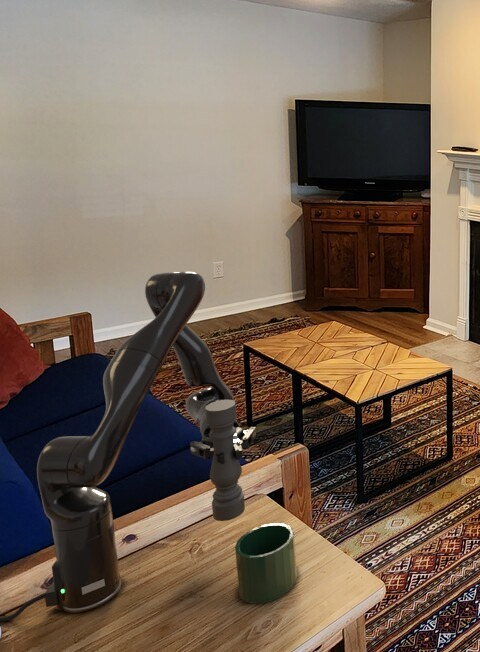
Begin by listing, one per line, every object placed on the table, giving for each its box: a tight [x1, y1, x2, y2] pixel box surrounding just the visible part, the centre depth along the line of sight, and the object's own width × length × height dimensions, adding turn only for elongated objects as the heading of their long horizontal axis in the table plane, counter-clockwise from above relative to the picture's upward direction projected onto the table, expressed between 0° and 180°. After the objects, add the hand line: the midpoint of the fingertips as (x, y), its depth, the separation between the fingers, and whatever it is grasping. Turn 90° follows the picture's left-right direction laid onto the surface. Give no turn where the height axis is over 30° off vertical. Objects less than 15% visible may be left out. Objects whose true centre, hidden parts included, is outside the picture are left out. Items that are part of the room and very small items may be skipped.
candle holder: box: [205, 400, 246, 522], centre depth 133 cm, size 6×6×25 cm
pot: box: [234, 522, 298, 605], centre depth 125 cm, size 11×11×10 cm
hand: (230, 457), depth 131 cm, fingers closed on candle holder, 2 cm apart
